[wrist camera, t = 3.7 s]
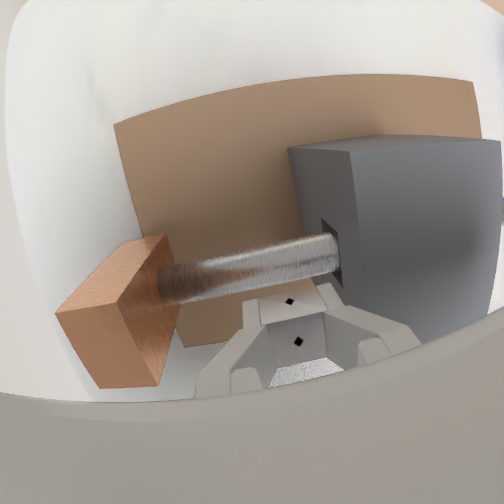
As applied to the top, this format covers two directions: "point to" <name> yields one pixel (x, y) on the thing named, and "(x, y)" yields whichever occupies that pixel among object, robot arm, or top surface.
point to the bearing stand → (328, 192)
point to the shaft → (171, 298)
